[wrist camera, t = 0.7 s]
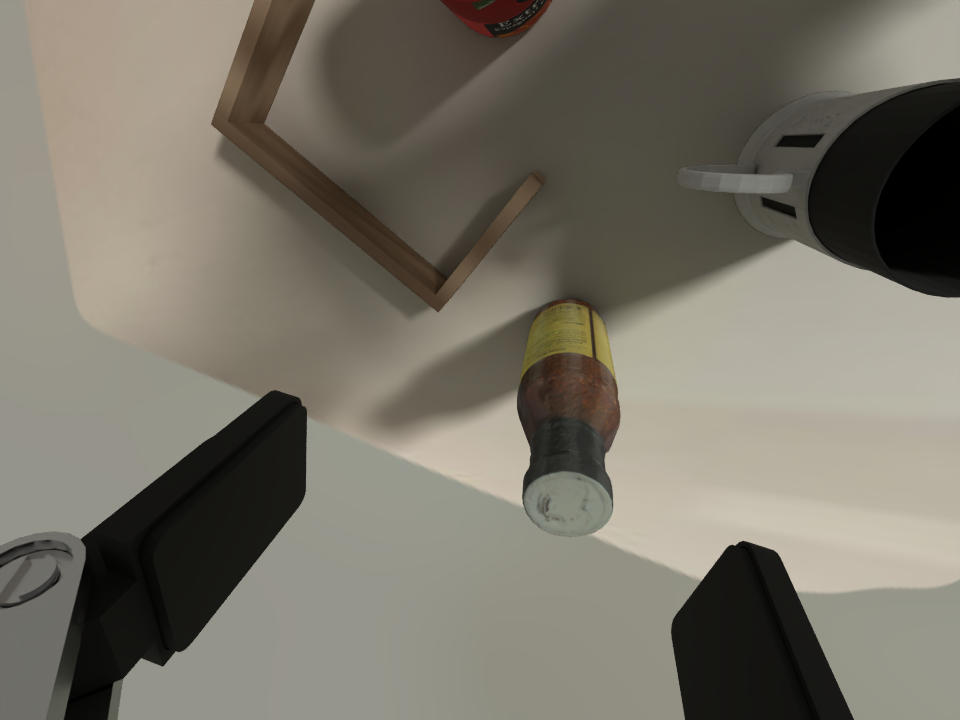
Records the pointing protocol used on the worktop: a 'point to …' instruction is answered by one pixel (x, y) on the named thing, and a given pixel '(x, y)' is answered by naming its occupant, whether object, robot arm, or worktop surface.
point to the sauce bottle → (568, 419)
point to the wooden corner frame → (242, 121)
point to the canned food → (498, 15)
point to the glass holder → (858, 181)
